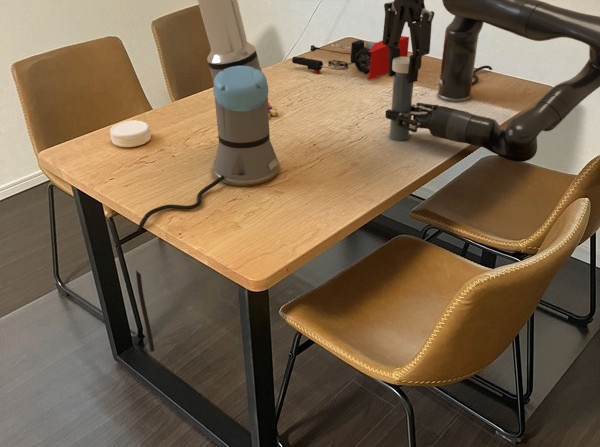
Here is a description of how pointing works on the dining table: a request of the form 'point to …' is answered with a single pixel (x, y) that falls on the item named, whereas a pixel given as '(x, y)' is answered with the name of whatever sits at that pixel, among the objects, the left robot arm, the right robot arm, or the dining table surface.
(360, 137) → the dining table surface
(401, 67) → the lid
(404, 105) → the grey cylinder
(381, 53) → the electric hoist
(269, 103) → the toy figure
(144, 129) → the white round container
